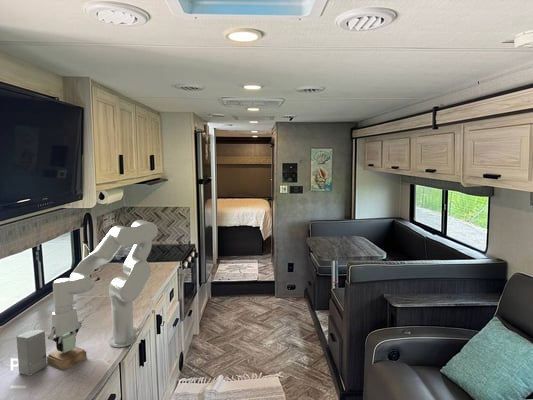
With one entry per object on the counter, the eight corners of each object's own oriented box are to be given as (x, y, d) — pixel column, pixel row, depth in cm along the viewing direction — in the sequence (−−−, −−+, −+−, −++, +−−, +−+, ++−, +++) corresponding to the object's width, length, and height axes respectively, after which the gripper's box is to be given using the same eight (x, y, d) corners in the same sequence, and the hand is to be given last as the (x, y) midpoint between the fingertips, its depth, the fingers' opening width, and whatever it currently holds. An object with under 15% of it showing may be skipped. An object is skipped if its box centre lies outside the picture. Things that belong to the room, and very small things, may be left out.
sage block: (68, 344, 163) (67, 332, 163) (75, 347, 161) (74, 334, 160) (57, 349, 159) (56, 336, 158) (64, 352, 156) (63, 339, 156)
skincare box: (29, 376, 149) (26, 339, 147) (17, 372, 151) (14, 336, 149) (48, 365, 156) (46, 330, 155) (36, 362, 159) (34, 327, 157)
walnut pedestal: (71, 351, 168) (70, 343, 167) (86, 358, 163) (86, 349, 162) (47, 363, 158) (46, 354, 158) (62, 370, 153) (62, 361, 153)
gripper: (77, 299, 167) (79, 337, 169) (38, 312, 152) (41, 354, 154) (87, 302, 163) (89, 341, 165) (49, 316, 149) (52, 359, 151)
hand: (66, 347), depth 160 cm, fingers closed on sage block, 5 cm apart
